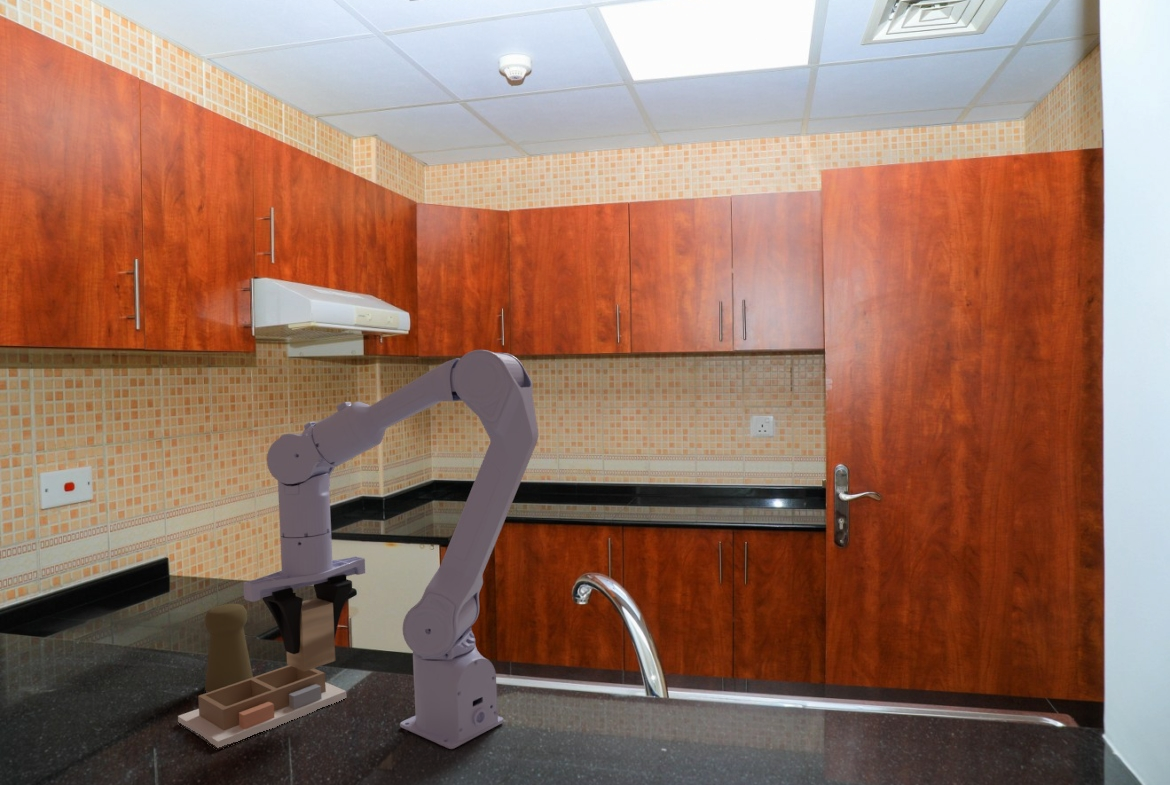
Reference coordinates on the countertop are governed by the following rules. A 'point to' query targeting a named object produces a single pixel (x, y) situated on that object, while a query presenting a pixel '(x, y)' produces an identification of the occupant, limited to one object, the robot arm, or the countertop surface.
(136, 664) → the countertop surface
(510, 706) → the countertop surface
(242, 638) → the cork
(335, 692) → the socket board
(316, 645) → the maple peg
